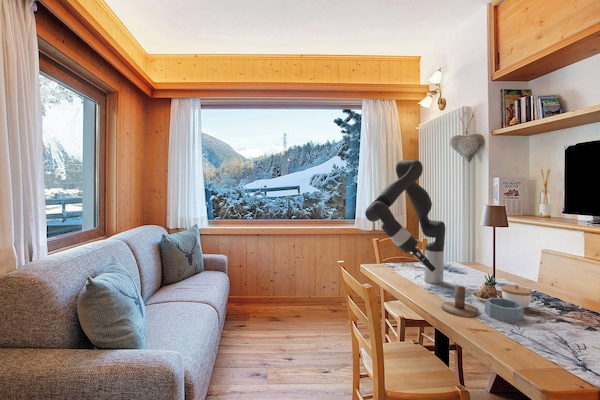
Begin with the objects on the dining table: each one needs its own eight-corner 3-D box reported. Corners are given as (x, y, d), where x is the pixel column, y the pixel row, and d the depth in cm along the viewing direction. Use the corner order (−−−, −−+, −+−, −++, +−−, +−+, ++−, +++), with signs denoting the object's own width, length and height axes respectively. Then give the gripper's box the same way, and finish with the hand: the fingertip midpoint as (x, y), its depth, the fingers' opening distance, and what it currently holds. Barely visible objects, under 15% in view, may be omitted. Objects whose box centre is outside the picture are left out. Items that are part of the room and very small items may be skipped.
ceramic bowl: (493, 307, 133) (494, 296, 133) (526, 317, 124) (527, 304, 124) (480, 313, 126) (481, 301, 126) (514, 324, 117) (515, 311, 117)
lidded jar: (526, 304, 138) (526, 283, 138) (535, 313, 128) (536, 290, 128) (498, 301, 142) (498, 280, 141) (505, 309, 131) (505, 287, 131)
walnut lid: (451, 302, 140) (452, 280, 140) (485, 312, 129) (485, 288, 128) (434, 309, 132) (435, 285, 131) (468, 320, 121) (469, 294, 120)
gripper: (413, 235, 125) (443, 265, 124) (407, 231, 139) (433, 258, 138) (399, 248, 126) (428, 278, 125) (394, 242, 140) (420, 269, 139)
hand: (431, 267), depth 131 cm, fingers open, 8 cm apart
